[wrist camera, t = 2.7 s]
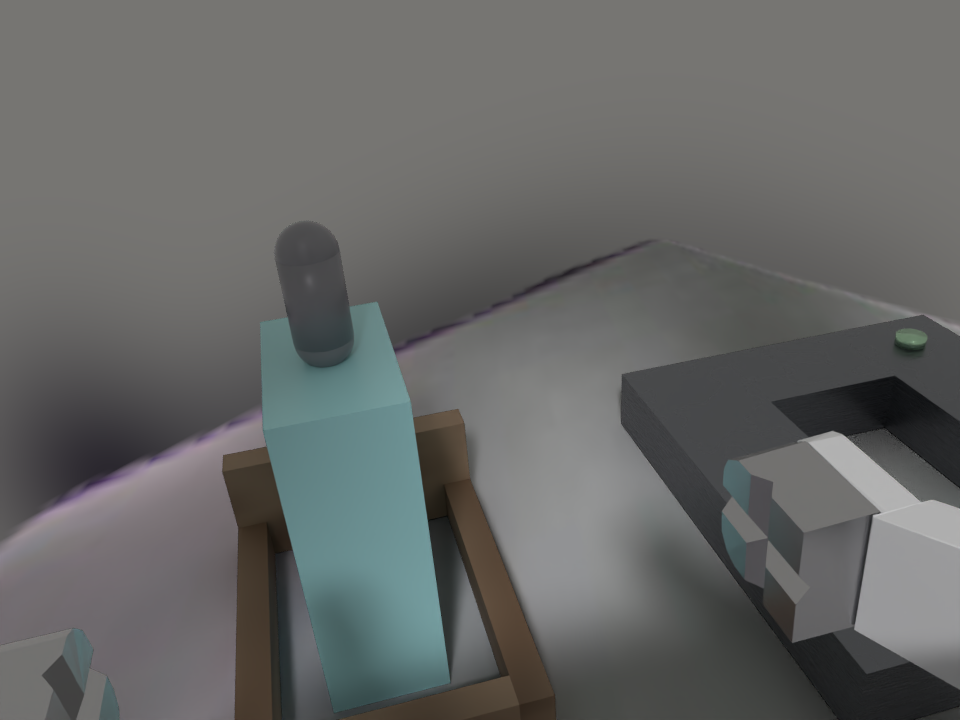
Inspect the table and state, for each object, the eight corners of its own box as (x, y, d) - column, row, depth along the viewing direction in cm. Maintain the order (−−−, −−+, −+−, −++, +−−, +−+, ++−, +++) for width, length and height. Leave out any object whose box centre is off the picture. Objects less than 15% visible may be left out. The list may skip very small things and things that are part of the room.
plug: (333, 713, 24) (225, 280, 17) (319, 573, 29) (230, 197, 22) (450, 682, 25) (389, 253, 18) (415, 551, 30) (358, 179, 23)
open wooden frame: (246, 816, 21) (209, 715, 19) (247, 541, 31) (223, 455, 29) (556, 731, 23) (551, 629, 21) (467, 494, 32) (458, 409, 30)
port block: (852, 737, 22) (869, 663, 21) (621, 423, 36) (621, 365, 34) (1282, 610, 25) (1324, 536, 23) (912, 363, 38) (924, 306, 37)
